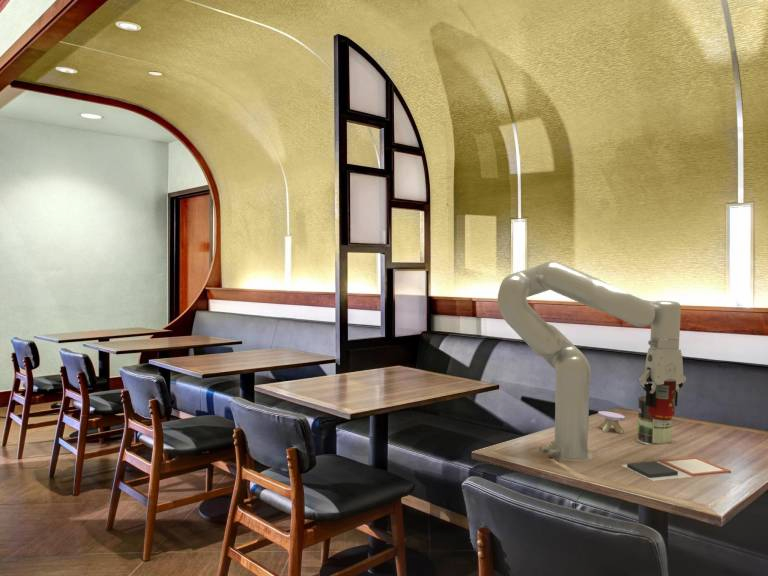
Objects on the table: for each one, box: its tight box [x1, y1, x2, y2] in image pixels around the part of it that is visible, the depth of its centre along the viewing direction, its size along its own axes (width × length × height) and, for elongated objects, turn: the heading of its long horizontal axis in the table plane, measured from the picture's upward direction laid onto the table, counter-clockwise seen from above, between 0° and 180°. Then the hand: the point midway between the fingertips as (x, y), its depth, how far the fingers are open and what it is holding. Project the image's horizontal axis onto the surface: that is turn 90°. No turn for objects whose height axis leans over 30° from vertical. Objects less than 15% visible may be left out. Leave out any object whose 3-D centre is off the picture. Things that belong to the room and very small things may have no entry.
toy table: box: [597, 410, 626, 434], centre depth 215 cm, size 10×9×6 cm
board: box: [621, 461, 727, 482], centre depth 171 cm, size 24×13×1 cm, turn 106°
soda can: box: [648, 379, 676, 421], centre depth 177 cm, size 7×7×12 cm
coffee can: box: [636, 395, 673, 446], centre depth 201 cm, size 10×10×14 cm
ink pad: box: [626, 460, 678, 479], centre depth 169 cm, size 9×9×1 cm
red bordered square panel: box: [659, 456, 732, 477], centre depth 173 cm, size 13×13×1 cm
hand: (661, 405), depth 177 cm, fingers closed on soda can, 7 cm apart
